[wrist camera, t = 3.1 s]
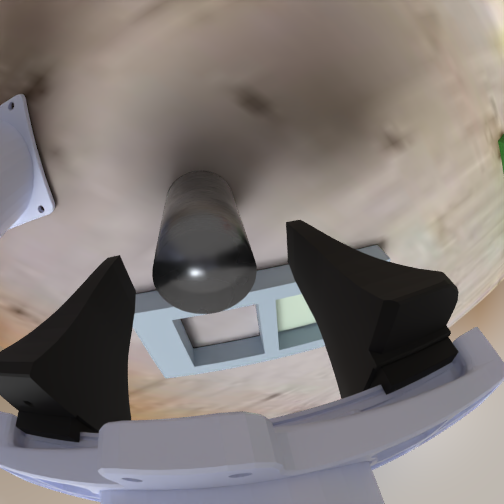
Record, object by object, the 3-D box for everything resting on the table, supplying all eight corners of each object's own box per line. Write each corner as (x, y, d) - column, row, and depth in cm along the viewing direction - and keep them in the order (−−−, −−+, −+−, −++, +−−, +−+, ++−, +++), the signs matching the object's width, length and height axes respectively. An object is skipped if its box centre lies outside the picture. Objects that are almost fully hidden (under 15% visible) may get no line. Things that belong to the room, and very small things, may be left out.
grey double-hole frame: (165, 360, 24) (165, 378, 22) (129, 295, 19) (126, 314, 17) (362, 316, 25) (371, 331, 24) (377, 244, 21) (390, 259, 19)
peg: (175, 238, 17) (169, 320, 12) (159, 179, 15) (138, 243, 9) (237, 225, 18) (260, 303, 12) (228, 165, 15) (250, 220, 10)
